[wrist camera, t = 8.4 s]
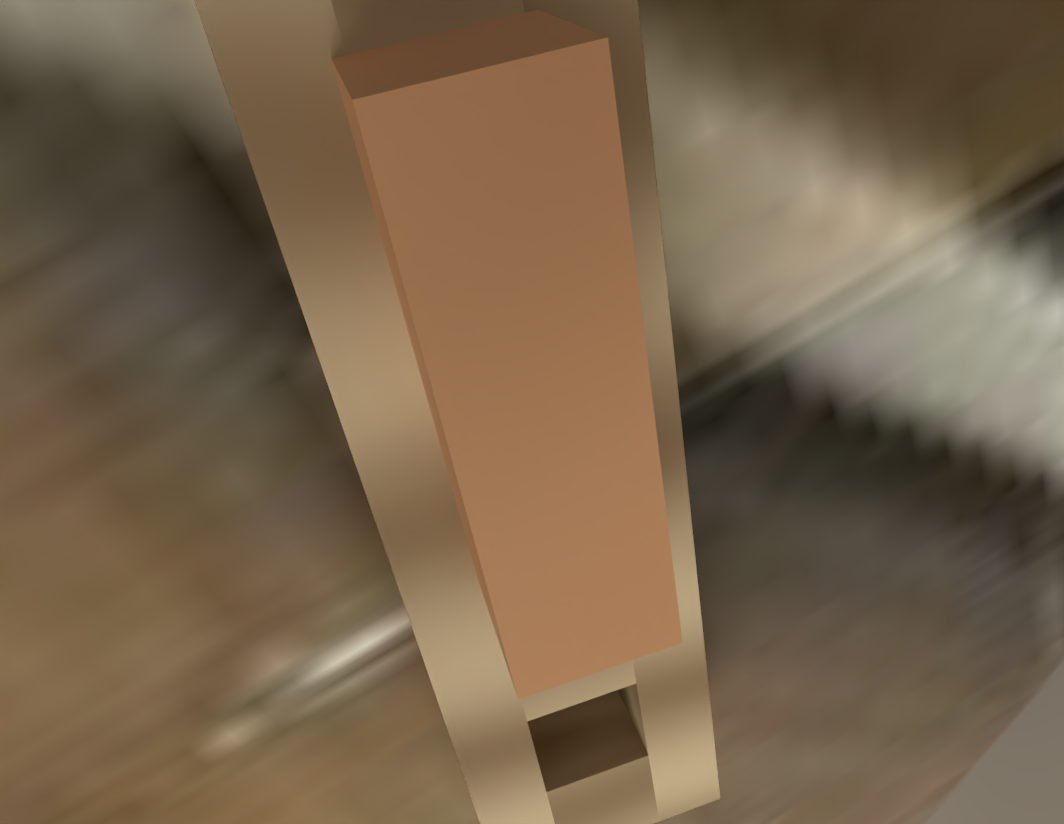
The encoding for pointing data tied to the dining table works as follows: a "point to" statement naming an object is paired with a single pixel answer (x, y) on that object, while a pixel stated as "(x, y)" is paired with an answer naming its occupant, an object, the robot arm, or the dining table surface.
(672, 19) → the dining table surface
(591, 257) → the orange-tan bridge block
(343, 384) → the rail
